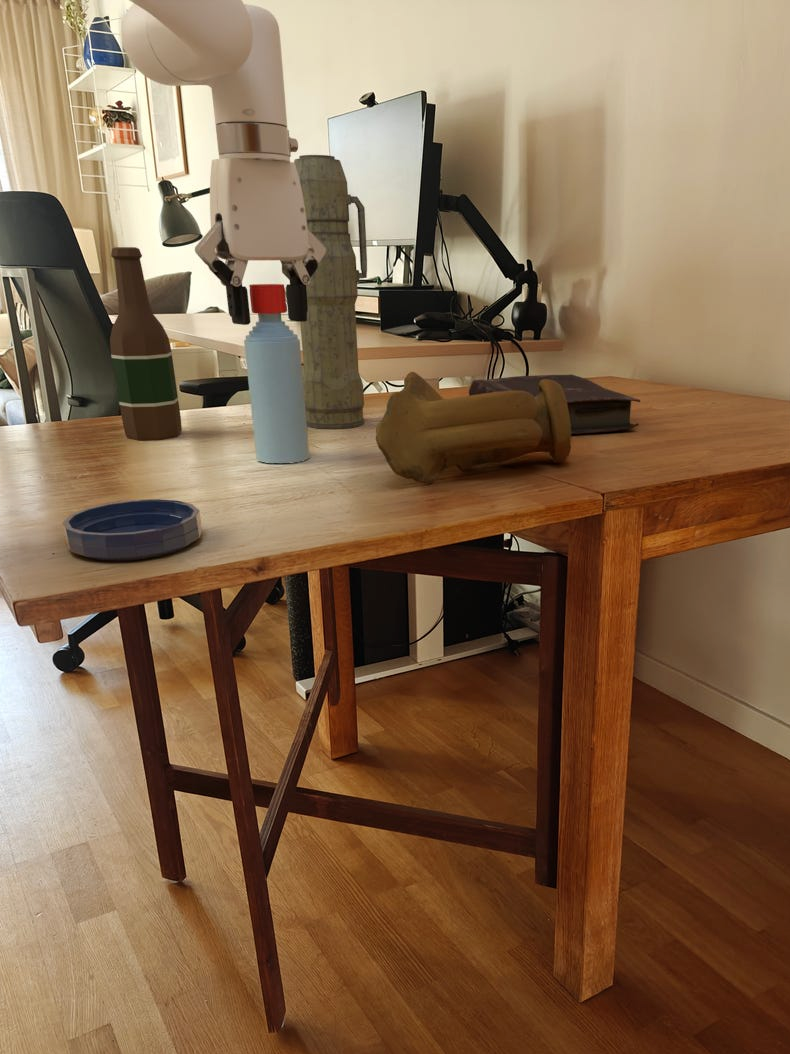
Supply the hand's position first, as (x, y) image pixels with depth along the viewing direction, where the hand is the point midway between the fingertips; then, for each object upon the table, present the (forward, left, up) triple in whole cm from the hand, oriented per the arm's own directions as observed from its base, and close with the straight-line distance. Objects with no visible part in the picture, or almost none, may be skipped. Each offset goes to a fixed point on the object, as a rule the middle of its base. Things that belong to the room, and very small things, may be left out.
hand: (270, 321), depth 100 cm
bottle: (0, 0, -16) cm, 16 cm away
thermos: (+15, +19, -16) cm, 29 cm away
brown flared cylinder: (+16, -19, -16) cm, 30 cm away
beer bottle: (-10, +24, -16) cm, 31 cm away
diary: (+44, +4, -16) cm, 47 cm away
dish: (-23, -26, -16) cm, 38 cm away
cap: (0, 0, +1) cm, 1 cm away
